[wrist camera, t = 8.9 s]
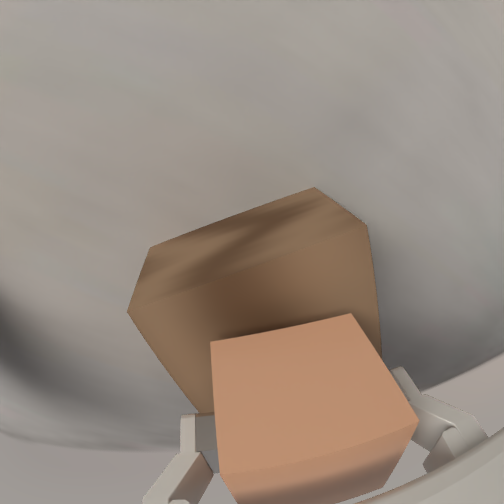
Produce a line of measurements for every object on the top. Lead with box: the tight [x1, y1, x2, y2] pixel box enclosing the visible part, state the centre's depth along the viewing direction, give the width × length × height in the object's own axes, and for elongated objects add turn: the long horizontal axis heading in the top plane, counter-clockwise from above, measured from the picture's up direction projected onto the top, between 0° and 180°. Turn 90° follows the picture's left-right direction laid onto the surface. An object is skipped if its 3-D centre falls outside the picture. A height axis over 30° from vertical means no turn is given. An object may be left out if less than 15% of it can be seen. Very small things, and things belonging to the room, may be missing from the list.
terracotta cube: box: [210, 313, 420, 504], centre depth 9 cm, size 5×5×5 cm
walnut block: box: [127, 187, 382, 413], centre depth 15 cm, size 9×9×6 cm
